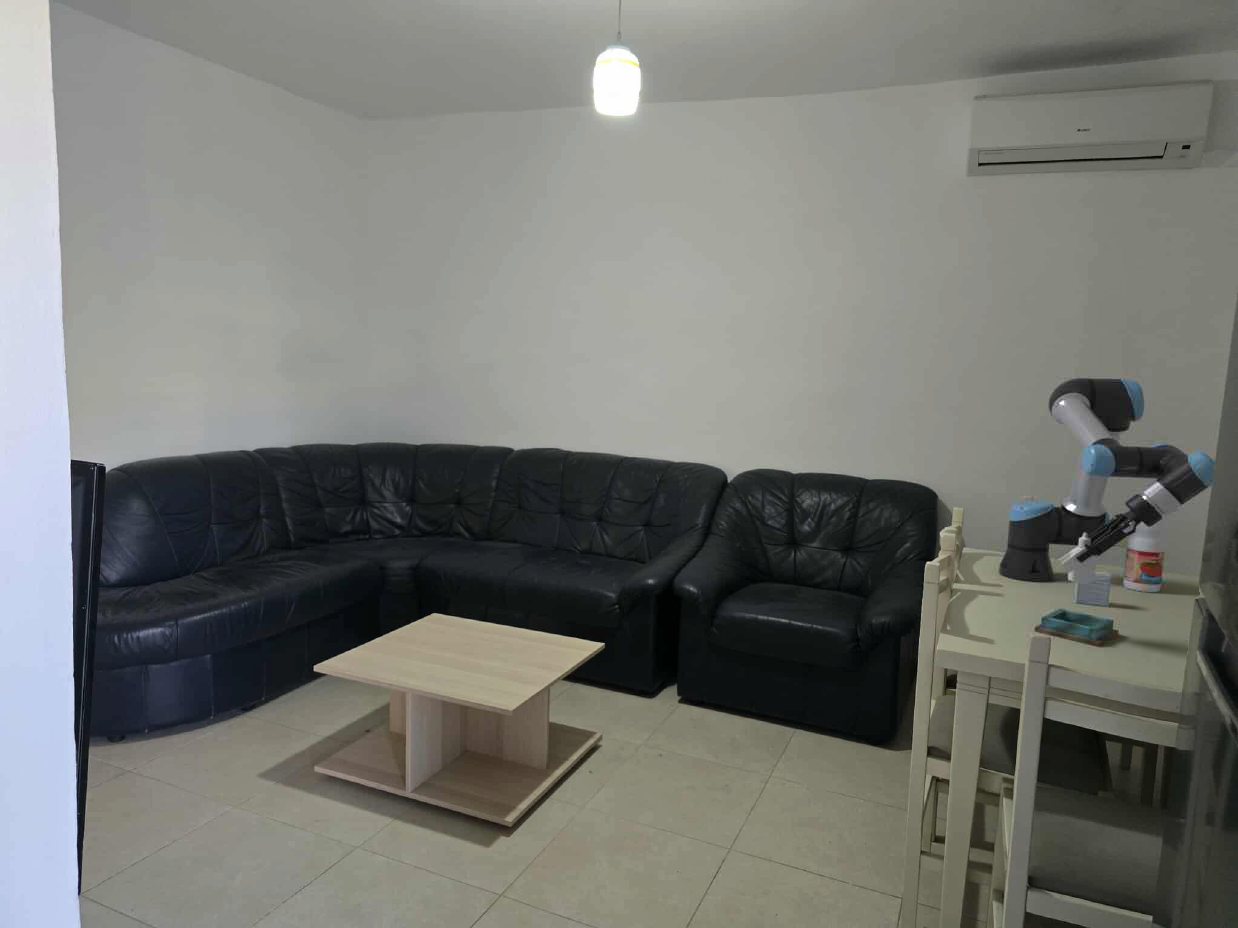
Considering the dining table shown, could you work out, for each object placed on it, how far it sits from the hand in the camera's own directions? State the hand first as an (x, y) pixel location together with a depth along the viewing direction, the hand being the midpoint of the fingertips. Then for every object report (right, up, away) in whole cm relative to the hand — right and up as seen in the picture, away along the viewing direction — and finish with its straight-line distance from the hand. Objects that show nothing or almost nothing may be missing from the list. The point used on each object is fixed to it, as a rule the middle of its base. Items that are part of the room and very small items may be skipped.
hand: (1064, 565), depth 194 cm
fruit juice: (+47, -13, +44) cm, 66 cm away
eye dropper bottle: (+3, -4, -1) cm, 5 cm away
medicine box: (+22, -14, +27) cm, 38 cm away
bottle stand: (+3, -16, 0) cm, 17 cm away
